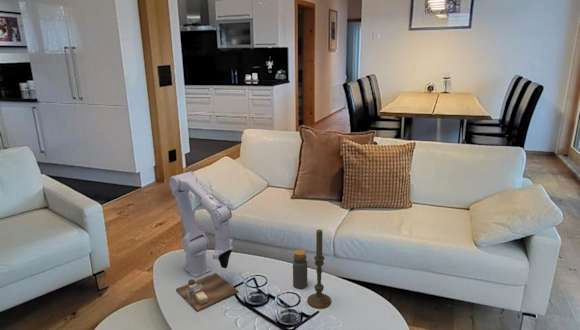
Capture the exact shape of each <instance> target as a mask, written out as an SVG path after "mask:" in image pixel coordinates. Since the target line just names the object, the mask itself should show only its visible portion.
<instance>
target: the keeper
mask: <svg viewBox="0 0 580 330" xmlns="http://www.w3.org/2000/svg"><path fill="white" fill-rule="evenodd" d="M202 289H204V287H203V286H202V285H201V284H198V285H196V286H193V287H190V288H187V289H186V291H187V297H188V299H189V300H193V299H195V293H194V292H197V291H200V290H202Z"/></svg>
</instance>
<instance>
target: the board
mask: <svg viewBox="0 0 580 330" xmlns="http://www.w3.org/2000/svg"><path fill="white" fill-rule="evenodd" d="M194 281H195V282H196V284H197V285H198V284H201V285H202V286H203V287H204V289H202V291H203V292H204V294H205V295H206V296H207V297H208V303H205V304H202V305H200V304H199V302H198V301H197V300H196V298H195V299H193V300H189V299H188V297H187V291H186V289H187V288H188V283H187V284H185V285H182V286H180V287H177V288H175V291H176V292H177V293H178V294H179V295H180V297H182V298H183V299H184V300H185V301H186V302H187V304H188V305H189V306H190V307H192V309H194V311H195V312H197V313H198V312H201V311H202V310H205V309H207V308H209V307H211V306H213V305H214V306H215V305H216V304H218V303H220V302H222V301H225V300H227V299H229V298H231V297H233V296H235V295H234V294H235V293H238V294H239V290H238V289H237V288H235V286H233V285H232V284H231V283H229V282H228V281H227V280H226V279H224V278H223V277H221V276H220V275H219V274H218V273H216V272H215V273H212V274H210V275H207V276H205V277H202V278H200V279H199V278H198V279H197V280H194Z"/></svg>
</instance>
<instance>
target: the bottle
mask: <svg viewBox="0 0 580 330" xmlns="http://www.w3.org/2000/svg"><path fill="white" fill-rule="evenodd" d="M293 252H294V253H293V261H292V286H293V287H294V288H295V289H297V290H303V289H306V288H307V287H308V261H307V254H306V253H307V252H306V250H304V249H302V248H301V249H300V248H299V249H295V250H294V251H293Z"/></svg>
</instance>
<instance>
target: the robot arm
mask: <svg viewBox="0 0 580 330" xmlns="http://www.w3.org/2000/svg"><path fill="white" fill-rule="evenodd" d="M168 184H169V187H170V191H171V194H172V196H174V197H175V202H176V204H177V207H178V210H179V211H178V212H179V214H180V217H181V220H182V222H183V227H184V229H185V232H186V233H185V235H184V236H183V237H182V246H183V248H182V249H183V251H184V253H185V263H186V267H184V270H185V271H186V272H187V273H188V274H190V275H191V276H192V277H193V278H197V277H199V276H201V275H204V274H207V273H209V272H212V271H211V269H210V268H209V267H208V265H207V254H206V252H207V251H208V250H207V249H208V248H209V247H210V241H209V239H208V237H207V236H206V233H205V231H203V230H201V229H199V225H198V223H197V220H196V218H195V214H194V211H193V208H192V204H191V201H190V198H189V192H191V193H192V194H193V195H194V196H195V197H197V198H198V199H199V200H200V205H201V206H202V207H203V208H204V209H205V211H207V213H208V214H209V215H210V220H211V221H212V225H213V228H214V238H215V239H214V240H215V246H214V251H213V254H212V260H218V261H219V265H220V267H221V269H227V267H228V265H229V260H230V258H231V257H230V256H231V253H232V251H233V249H234V246H232V245H233V244H234V239H233V238H231V233H230V231H231V230H230V220H231V219H232V216H233V213H232V210H231V209H230V207H229V206H228V205H226V204H225V205H224V204H221V203H220V201H219V200H217V198H215V196H213V194H208V193H207V192H206V191H205V189H204V188H203V187H202V185H201V184H200V183H199V182H198V177H197V175H196V174H195V173H194V172H193V171H192V170H190V171H187V172H183V173H180V174H177V175H171V176H170V179H169V181H168Z"/></svg>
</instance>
